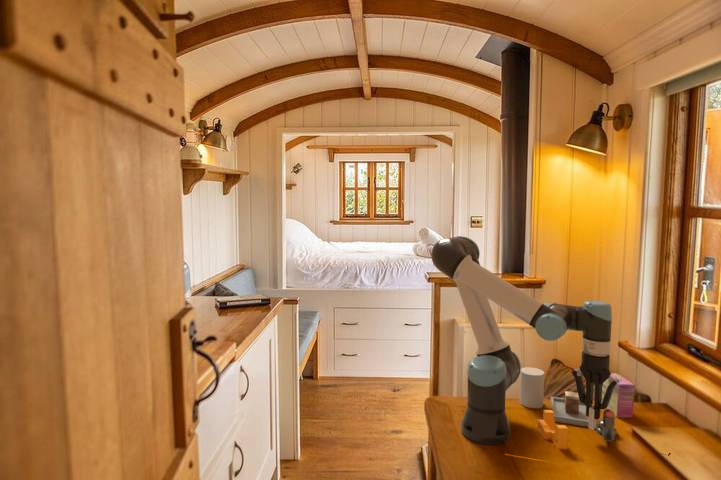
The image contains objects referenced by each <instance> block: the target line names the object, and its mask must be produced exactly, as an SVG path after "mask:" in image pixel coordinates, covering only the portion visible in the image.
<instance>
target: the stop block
mask: <svg viewBox="0 0 721 480" xmlns="http://www.w3.org/2000/svg"><path fill="white" fill-rule="evenodd" d="M564 398H565V412H566V413H570V414H576V415H579V401H580V400H579V396H578V392H573V391H564Z"/></svg>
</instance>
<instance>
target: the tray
mask: <svg viewBox="0 0 721 480" xmlns="http://www.w3.org/2000/svg"><path fill="white" fill-rule="evenodd" d="M550 407H551V410H552V411H553V412H554V419H555V423H562V424H568V425H574V426H582V427H589V417H588V416H586V405H585V404H584V403H581V402H580V400H579V415H576V414H570V413H566V412H565V397H558V396H557V397H556V396H550Z"/></svg>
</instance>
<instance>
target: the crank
mask: <svg viewBox="0 0 721 480" xmlns="http://www.w3.org/2000/svg"><path fill="white" fill-rule="evenodd" d="M602 413H603V414H602V418H599V419H598V422H597V423H598V424H597V425H598V427H599V428H600V429H601V430H602V432H603V434H602V435H601V436H602V441H607V442H611V443H613V442H614V441H613V440H615V436H614V428H615V422H616V421H615V419H616V416H615V414H614V412H613V411H612V410H610V409H606V408H605V409H604V410H603V412H602Z"/></svg>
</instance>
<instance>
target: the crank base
mask: <svg viewBox="0 0 721 480" xmlns="http://www.w3.org/2000/svg"><path fill="white" fill-rule="evenodd" d="M594 431H595V432H596V433H597V434H599V435H600V436H602V434H603V432H602V430H601V429H600V428H599V427H598V424H597V425H596V428H595V429H594ZM617 435H618V430H617V429H616V428H615V427H614V437H617Z"/></svg>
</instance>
